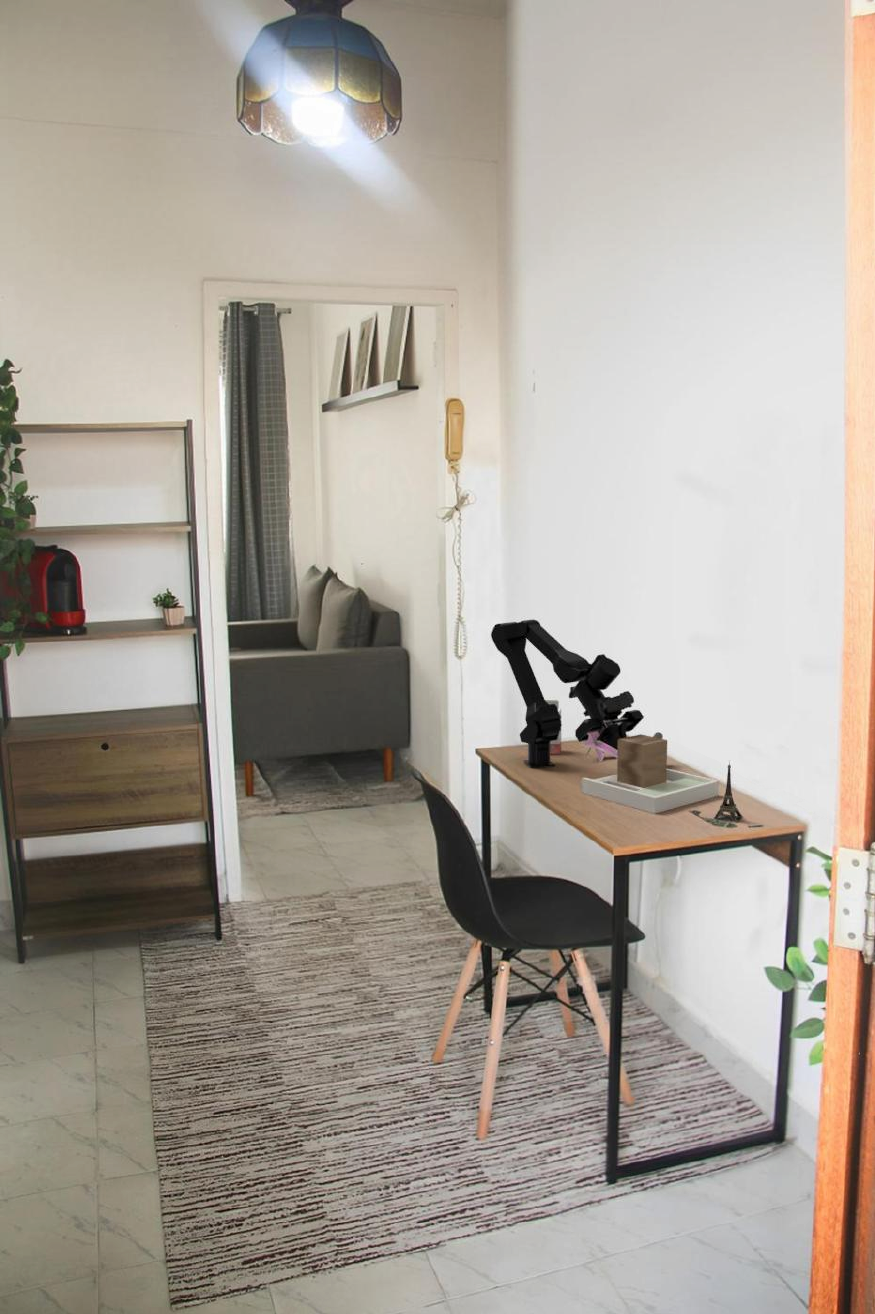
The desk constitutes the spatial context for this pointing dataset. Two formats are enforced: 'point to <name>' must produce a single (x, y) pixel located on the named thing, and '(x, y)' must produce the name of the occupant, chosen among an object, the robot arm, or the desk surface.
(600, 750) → the lily
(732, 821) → the eiffel tower figurine
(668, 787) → the box
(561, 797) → the desk surface
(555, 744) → the ink cartridge box
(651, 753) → the walnut block
